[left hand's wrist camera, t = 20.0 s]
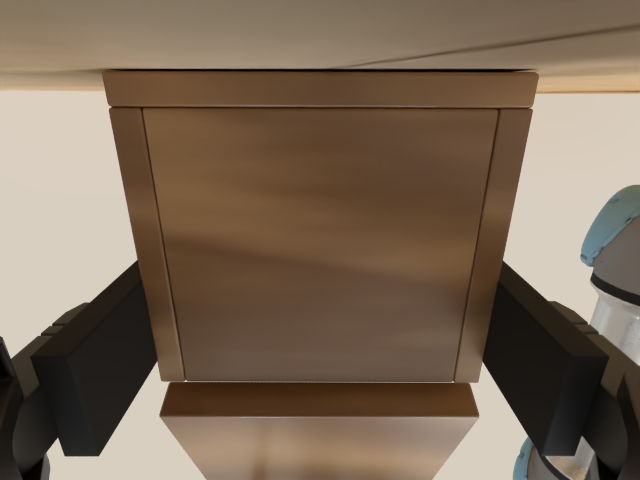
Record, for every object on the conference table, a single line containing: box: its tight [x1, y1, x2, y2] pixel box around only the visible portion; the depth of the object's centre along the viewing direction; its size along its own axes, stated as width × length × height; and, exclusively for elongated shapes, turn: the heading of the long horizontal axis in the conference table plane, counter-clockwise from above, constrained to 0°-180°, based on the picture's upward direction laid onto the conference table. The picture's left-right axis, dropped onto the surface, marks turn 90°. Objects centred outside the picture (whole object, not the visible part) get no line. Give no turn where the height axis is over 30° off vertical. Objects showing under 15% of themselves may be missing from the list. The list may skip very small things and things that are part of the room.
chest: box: [102, 71, 539, 383], centre depth 16 cm, size 14×10×9 cm
